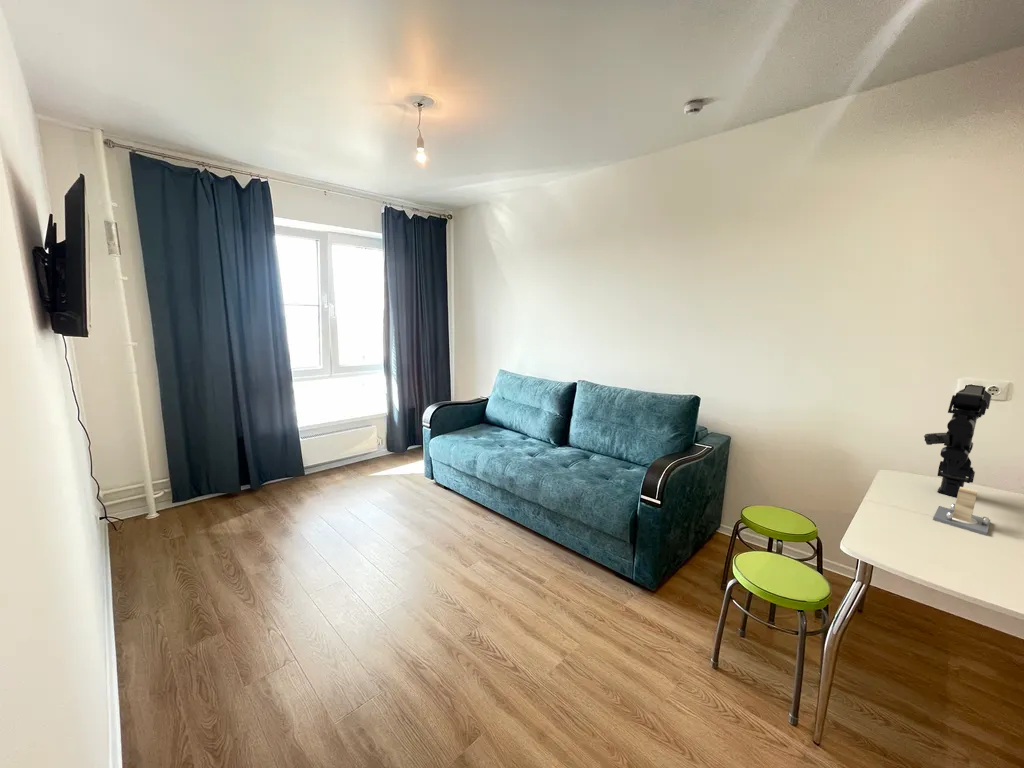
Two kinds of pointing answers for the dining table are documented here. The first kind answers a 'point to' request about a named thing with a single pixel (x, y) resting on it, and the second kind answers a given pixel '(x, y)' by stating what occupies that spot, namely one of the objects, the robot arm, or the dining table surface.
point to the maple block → (965, 504)
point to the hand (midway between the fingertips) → (952, 471)
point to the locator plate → (975, 524)
